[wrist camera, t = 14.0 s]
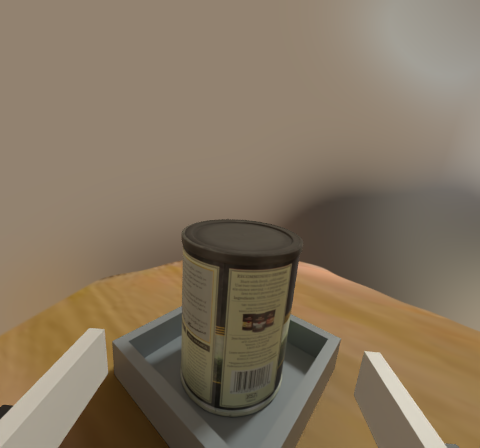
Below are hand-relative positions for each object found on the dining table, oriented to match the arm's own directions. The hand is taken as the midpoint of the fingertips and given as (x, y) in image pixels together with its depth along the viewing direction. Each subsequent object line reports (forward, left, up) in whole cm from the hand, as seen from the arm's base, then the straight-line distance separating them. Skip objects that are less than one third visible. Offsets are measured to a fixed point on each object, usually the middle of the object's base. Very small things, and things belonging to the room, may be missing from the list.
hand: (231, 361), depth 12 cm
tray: (-8, -6, -11) cm, 14 cm away
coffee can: (-8, -6, -10) cm, 14 cm away
